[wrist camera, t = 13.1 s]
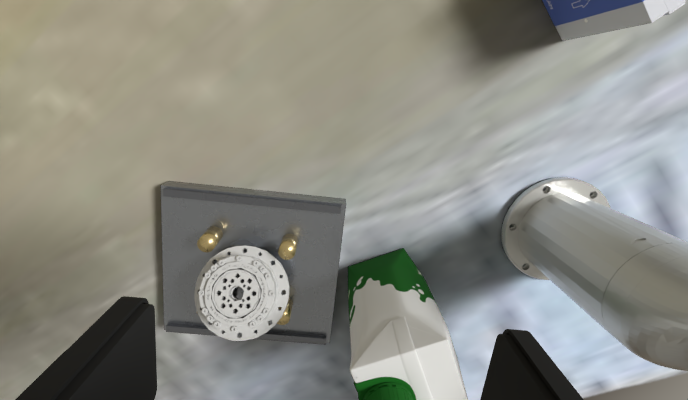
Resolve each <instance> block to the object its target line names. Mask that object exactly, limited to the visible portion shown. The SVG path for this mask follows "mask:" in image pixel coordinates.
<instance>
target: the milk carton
mask: <svg viewBox="0 0 688 400" xmlns="http://www.w3.org/2000/svg"><path fill="white" fill-rule="evenodd" d="M348 305H349V322H350V338H351V363H350V373H351V375H352V377H353V379H354V385H355V388H356V390H357V392H358V399H359V400H468V398H467V394H466V390H465V387H464V383H463V379H462V375H461V371H460V367H459V363H458V359H457V356H456V353H455V349H454V346H453V343H452V340H451V337H450V334H449V331H448V328H447V326H446V324H445V321H444V319H443V317H442V315H441V313H440V311H439V308H438V306H437V304H436V302H435V300H434V298H433V296H432V294H431V291H430V289H429V287H428V285H427V283H426V281H425V279H424V277H423V276H422V274H421V273H420V271H419V270H418V269H417V267H416V266H415V264H414V263H413V261H412V260H411V259H410V257H409V256H408V254H407V253H406V251H405V250H404V248H402V249H399V250H396V251H393V252H391V253H388V254H385V255H382V256H379V257H376V258H373V259H370V260H367V261H364V262H361V263H358V264H355V265H352V266H349V267H348Z"/></svg>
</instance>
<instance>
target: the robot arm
mask: <svg viewBox="0 0 688 400" xmlns="http://www.w3.org/2000/svg"><path fill="white" fill-rule="evenodd" d="M543 188H544V189H543ZM510 225H511V226H510ZM501 237H502V245H503V248H504V251H505V254H506V255H507V257H508V258H509V260H510V261H511V262H512V263H513V265H514V266H515V267H516V268H518V269H519V270H520V271H521V272H522V273H524V274H526V275H528V276H530V277H533V278H537V279H542V280H551V281H552V282H553V283H554V284H555V285H556V286H557V287H558V288H560V289H561V290H562V291H563V292H564V293H565V294H566V295H567V296H569V297H570V298H571V299H572V300H573V301H574V302H575V303H576V304H577V305H579V306H580V307H581V308H582V309H583V310H584V311H585V312H586V313H588V314H589V315H590V316H591V317H592V318H593V319H594V320H595V321H596V322H598V323H599V324H600V325H601V326H602V327H603V328H604V329H605V330H607V331H608V332H609V333H610V334H611V335H612V336H613V337H615V338H616V339H617V340H618V341H619V342H620V343H621V344H622V345H624V346H625V347H626V348H627V349H629V350H630V351H631V352H633V353H634V354H636V355H638V356H639V357H641V358H643V359H645V360H647V361H649V362H652V363H654V364H657V365H660V366H664V367H668V368H672V369H677V370H684V371H688V242H686V241H684V240H682V239H679V238H677V237H675V236H672V235H670V234H668V233H666V232H663V231H661V230H659V229H656V228H654V227H652V226H650V225H647V224H645V223H643V222H640V221H638V220H636V219H634V218H631V217H629V216H627V215H624V214H622V213H620V212H618V211H615V210H613V209H611V208H610V205H609V203H608V201H607V199H606V197H605V196H604V195H603V194H602V193H601V191H600V190H598V189H597V188H596V187H594V186H593V185H591V184H589V183H586V182H584V181H581V180H578V179H575V178H568V177H559V178H551V179H548V180H544V181H541V182H539V183H537V184H535V185H533V186H531V187H530V188H528V189H527V190H525V191H524V192H523V193H522V194H521V195H520V196H519V197H518V198H517V199H516V200H515V201H514V202H513V204H512V205H511V206H510V208H509V210H508V212H507V214H506V216H505V218H504V222H503V225H502V234H501ZM156 391H157V374H156V342H155V310H154V306H153V305H151V304H148V301H147V299H146V298H136V297H121V298H120V299H119V300H118V301H117V302H116V303H115V304H114V305H113V306H112V307H110V308H109V309H108V310H107V311H106V312H105V313H104V314H103V315H102V316H101V317H100V318H99V319H98V320H97V321H96V322H95V323H94V324H93V325H92V326H91V327H90V328H89V329H88V330H87V331H86V332H85V333H84V334H83V335H82V336H81V337H80V338H79V339H78V340H77V341H76V342H75V343H74V344H73V345H72V346H71V347H70V348H69V349H67V350H66V351H65V352H64V353H63V354H62V355H61V356H60V357H59V358H58V359H57V360H56V361H54V362H53V363H52V364H51V365H50V366H49V367H48V368H47V369H46V370H45V371H44V372H43V373H42V374H41V375H40V376H39V377H38V378H37V379H36V380H35V381H34V382H33V383H32V384H31V385H30V386H29V387H28V388H27V389H26V390H25V391H24V392H23V393H22V394H21V395H20V396H19V397H18V398H17V399H16V400H154V399H155V395H156ZM481 400H583V398H582V397H581V396H580V395H579V393H578V392H577V391H576V390H575V388H574V387H573V386H572V385H571V383H570V382H569V381H568V380H567V378H566V377H565V376H564V375H563V373H562V372H561V371H560V370H559V368H558V367H557V366H556V365H555V363H554V362H553V361H552V360H551V358H550V357H549V356H548V355H547V353H546V352H545V351H544V350H543V348H542V347H541V346H540V344H539V343H538V342H537V341H536V339H535V338H534V337H533V336H532V334H531V333H530V332H528V331H523V330H511V329H506V330H505V331H504V332H503V334H499V335H498V336H497V339H496V342H495V346H494V350H493V354H492V357H491V361H490V365H489V369H488V373H487V377H486V380H485V384H484V388H483V392H482V396H481ZM687 400H688V399H687Z"/></svg>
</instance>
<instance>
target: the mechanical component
mask: <svg viewBox="0 0 688 400" xmlns="http://www.w3.org/2000/svg"><path fill="white" fill-rule="evenodd" d="M245 249H247V252H246V253H244V250H245ZM230 252H231V255H229V253H230ZM260 253H262V255H261V256H260ZM216 260H217V261H218V262H217V263H216V264H215V261H216ZM272 261H275V265H272V264H271V263H272ZM280 275H283V277H282V278H280ZM239 287H241V288H242V289H243V290H244V294H243V297H242V298H240V299H238V298H237V297H236V296H237V295H238V292H237V291H238V288H239ZM283 290H285V291H286V294H285V295H284V294H282V291H283ZM288 299H289V282H288V277H287V274H286V272H285V270H284V268H283V266H282V264H281V263H280V262H279V261H278V260H277V259H276V258H275V257H274V256H273V255H272V254H270V253H269V252H267V251H265V250H263V249H260V248H257V247H253V246H246V245H245V246H234V247H231V248H227V249H225V250H223V251H221V252H219V253H218V254H216V255H215V256H214V257H212V258H211V259H210V260H209V261H208V262H207V264H206V265H205V266H204V267H203V269H202V271H201V273H200V275H199V276H198V278H197V282H196V287H195V305H196V310H197V313H198V315H199V317H200V319H201V321H202V322H203V323H204V324H205V326H206V327H207V328H208V329H209V330H210V331H212V332H213V333H215V334H216V335H218V336H219V337H222V338H225V339H228V340H232V341H245V340H249V339H254V338H257V337H259V336H261V335H263V334H264V333H266V332H268V331H269V330H270V329H271V328H272V327H274V326H275V325H276V323H277V322H278V321H279V320H280V319H281V317H282V315H283V313H284V311H285V309H286V307H287V304H288ZM279 307H282V308H281V310H280V309H279ZM254 309H255V310H254ZM270 320H272V324H270V323H269V321H270ZM211 323H212V324H211ZM255 330H257V332H255ZM224 331H225V332H224ZM239 332H240V333H242V337H241V336H239Z"/></svg>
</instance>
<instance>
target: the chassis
mask: <svg viewBox="0 0 688 400" xmlns="http://www.w3.org/2000/svg"><path fill="white" fill-rule="evenodd" d="M345 209H346V199H341V198H331V197H321V196H311V195H302V194H292V193H282V192H272V191H262V190H252V189H242V188H233V187H223V186H213V185H203V184H193V183H183V182H173V181H168V182H166V183H164V184H162V185H161V217H162V260H163V302H164V330H166V332H177V333H189V334H202V335H214V336H218V335H216V334H215V333H213V332H212V331H210V330H209V329H208V328H207V327H206V326H205V324H204V323H203V322H202V321H201V319H200V317H199V315H198V313H197V310H196V305H195V287H196V282H197V278H198V276H199V275H200V273H201V271H202V269H203V267H204V266H205V265H206V264H207V262H208V261H209V260H210V259H211V258H212V257H214V256H215V255H216V254H218V253H219V252H221V251H223V250H225V249H227V248H231V247H234V246H245V245H246V246H253V247H257V248H260V249H263V250H265V251H267V252H269V253H270V254H272V255H273V256H274V257H275V258H276V259H277V260H278V261H279V262H280V263H281V264H282V266H283V268H284V270H285V272H286V274H287V277H288V282H289V299H288V304H287V307H286V309H285V311H284V313H283V315H282V317H281V319H280V320H279V321H278V322H277V323H276V325H275V326H274V327H272V328H271V329H270V330H269V331H268V332H266V333H264V334H263V335H261V336H259V337H257V338H254V339H264V340H276V341H288V342H301V343H313V344H325V345H326V343H330V335H331V327H332V319H333V310H334V302H335V293H336V285H337V276H338V268H339V260H340V251H341V243H342V234H343V226H344V217H345ZM246 252H247V249H245V250H244V253H246ZM229 255H231V252H230V253H229ZM261 255H262V253H260V256H261ZM217 262H218V261H217V260H216V261H215V264H216V263H217ZM271 264H272V265H275V261H272V263H271ZM282 277H283V275H280V278H282ZM237 292H238V295H237V296H236V297H237V298H238V299H240V298H242V297H243V294H244V290H243V289H242V288H241V287H239V288H238V291H237ZM282 294H284V295H285V294H286V291H285V290H283V291H282ZM281 308H282V307H279V309H280V310H281ZM254 310H255V309H254ZM269 323H270V324H272V320H270V321H269ZM211 324H212V323H211ZM224 332H225V331H224ZM255 332H257V330H255ZM239 336H241V337H242V333H240V332H239Z"/></svg>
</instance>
